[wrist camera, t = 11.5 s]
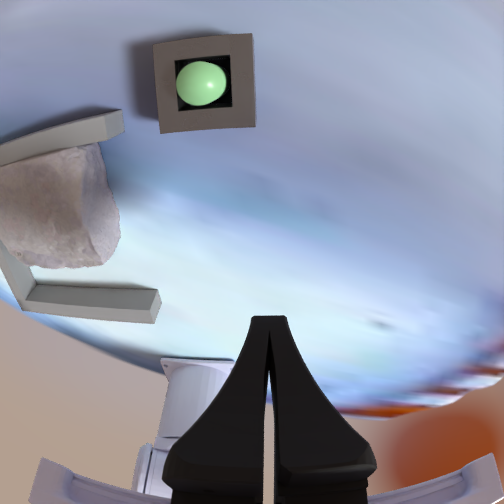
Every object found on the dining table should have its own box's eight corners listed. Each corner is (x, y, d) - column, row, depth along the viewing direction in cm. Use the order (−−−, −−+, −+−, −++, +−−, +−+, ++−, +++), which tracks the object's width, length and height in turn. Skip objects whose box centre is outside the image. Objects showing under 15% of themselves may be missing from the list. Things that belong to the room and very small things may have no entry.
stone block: (138, 234, 24) (101, 123, 17) (119, 279, 21) (63, 156, 14) (40, 239, 25) (-2, 154, 18) (17, 274, 22) (-36, 186, 15)
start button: (231, 98, 16) (223, 103, 13) (195, 100, 16) (177, 107, 13) (230, 63, 15) (221, 59, 12) (192, 66, 15) (174, 64, 12)
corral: (161, 303, 25) (154, 323, 23) (33, 295, 26) (22, 310, 24) (121, 109, 17) (104, 115, 14) (-18, 151, 17) (-37, 161, 15)
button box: (256, 119, 17) (255, 127, 14) (175, 124, 17) (160, 133, 15) (253, 40, 14) (252, 33, 12) (169, 48, 15) (152, 44, 12)
